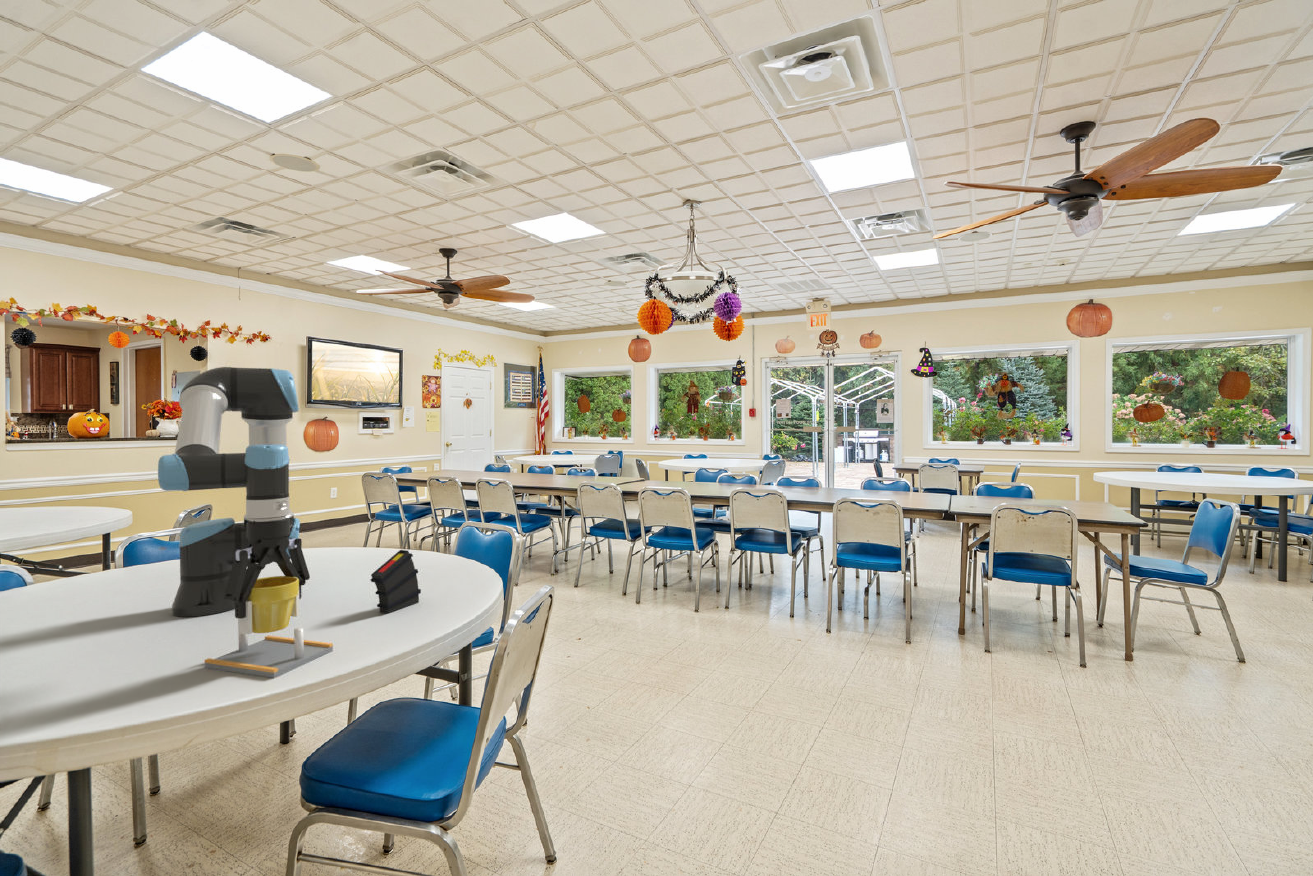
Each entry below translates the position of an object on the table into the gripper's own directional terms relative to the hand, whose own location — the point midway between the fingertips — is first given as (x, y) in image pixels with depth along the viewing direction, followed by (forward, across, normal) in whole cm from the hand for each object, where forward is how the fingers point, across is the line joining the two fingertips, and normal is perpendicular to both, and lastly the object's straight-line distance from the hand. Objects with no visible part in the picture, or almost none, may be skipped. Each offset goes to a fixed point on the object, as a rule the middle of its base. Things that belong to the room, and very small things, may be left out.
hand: (270, 624), depth 121 cm
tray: (+7, 0, 0) cm, 7 cm away
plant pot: (+1, 0, 0) cm, 1 cm away
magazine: (+7, +35, -2) cm, 36 cm away
